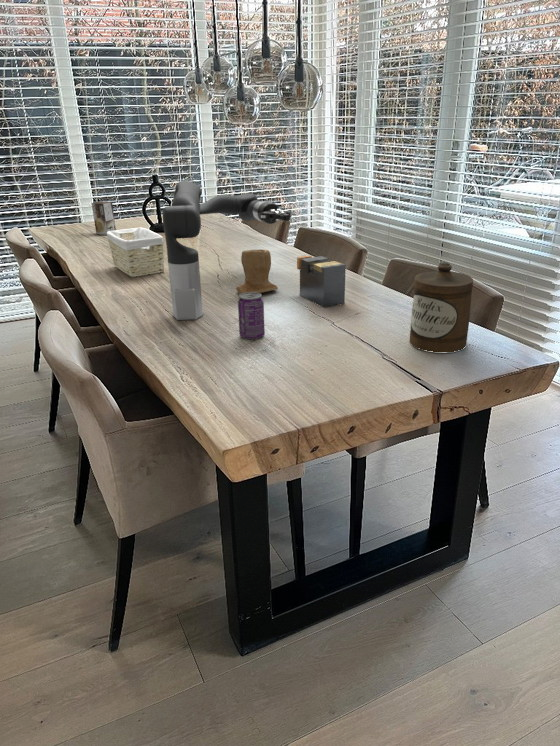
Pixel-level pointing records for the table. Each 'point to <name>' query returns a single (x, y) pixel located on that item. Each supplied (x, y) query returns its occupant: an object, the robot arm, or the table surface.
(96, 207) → the coffee box
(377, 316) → the table surface
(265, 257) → the stone cup
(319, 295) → the latch bracket
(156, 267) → the storage basket
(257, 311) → the beverage can
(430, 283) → the wooden container
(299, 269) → the sliding latch bolt
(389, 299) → the table surface
